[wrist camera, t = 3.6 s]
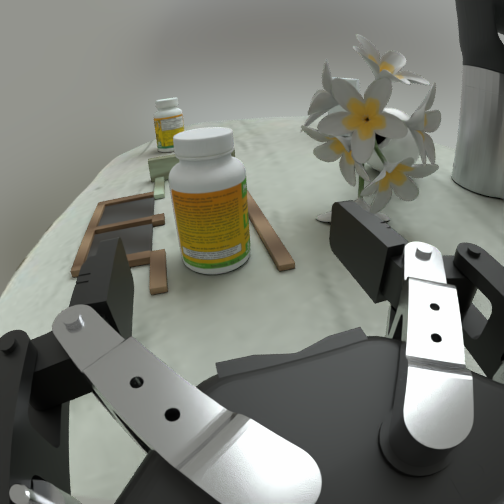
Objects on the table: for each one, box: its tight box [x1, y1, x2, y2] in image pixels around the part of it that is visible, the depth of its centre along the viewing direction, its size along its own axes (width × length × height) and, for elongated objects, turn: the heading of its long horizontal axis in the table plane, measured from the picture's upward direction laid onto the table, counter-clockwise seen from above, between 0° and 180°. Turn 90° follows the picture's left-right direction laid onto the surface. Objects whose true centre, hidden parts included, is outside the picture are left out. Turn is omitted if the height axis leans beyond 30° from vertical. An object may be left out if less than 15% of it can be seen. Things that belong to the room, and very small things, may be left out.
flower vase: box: [301, 35, 441, 222], centre depth 31 cm, size 13×18×25 cm
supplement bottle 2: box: [169, 127, 250, 274], centre depth 23 cm, size 5×5×10 cm
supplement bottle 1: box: [154, 98, 184, 152], centre depth 54 cm, size 5×5×10 cm
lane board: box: [70, 150, 295, 295], centre depth 31 cm, size 25×18×3 cm
